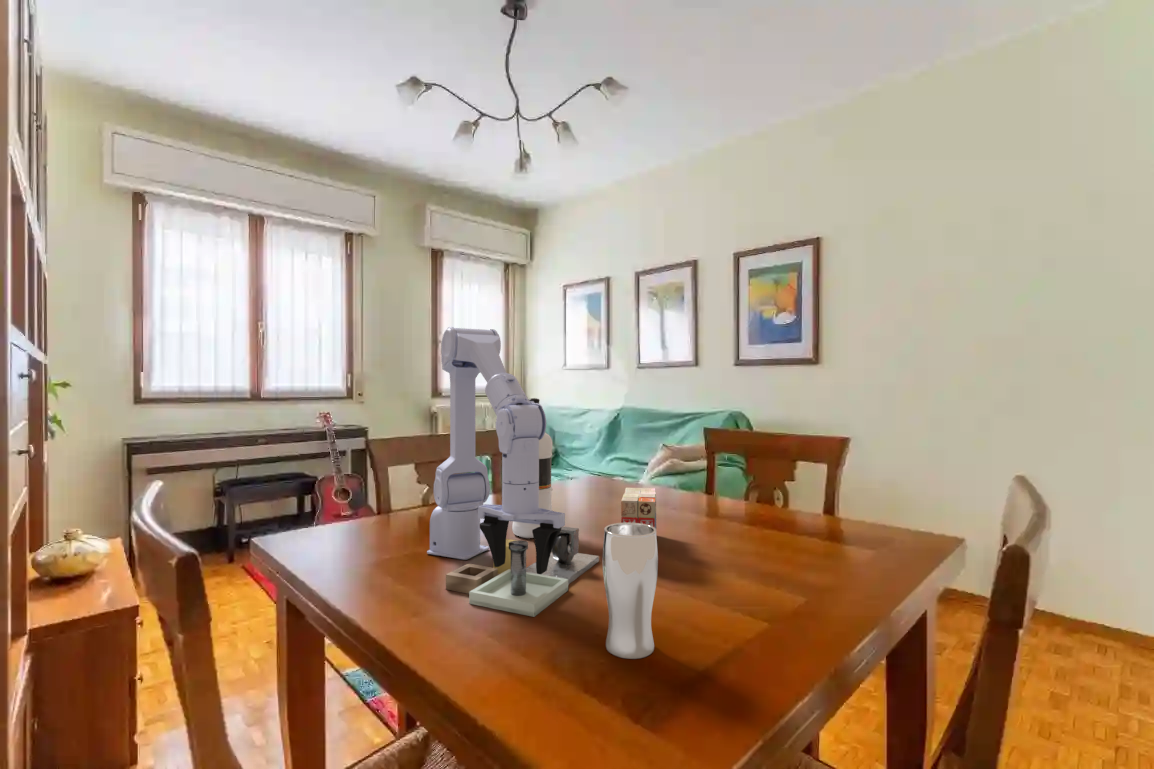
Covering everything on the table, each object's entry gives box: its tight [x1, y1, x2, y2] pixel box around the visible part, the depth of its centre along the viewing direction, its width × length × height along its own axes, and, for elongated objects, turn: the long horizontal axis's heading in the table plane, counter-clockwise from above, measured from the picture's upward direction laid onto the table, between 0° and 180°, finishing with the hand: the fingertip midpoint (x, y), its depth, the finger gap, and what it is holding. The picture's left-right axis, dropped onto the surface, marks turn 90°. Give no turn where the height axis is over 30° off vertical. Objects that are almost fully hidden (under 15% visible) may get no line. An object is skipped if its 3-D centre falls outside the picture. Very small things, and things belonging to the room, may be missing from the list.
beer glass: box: [602, 522, 659, 660], centre depth 70 cm, size 7×7×15 cm
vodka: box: [511, 397, 553, 539], centre depth 123 cm, size 9×9×30 cm
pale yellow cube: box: [492, 538, 517, 575], centre depth 98 cm, size 4×4×5 cm
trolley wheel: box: [526, 526, 600, 585], centre depth 99 cm, size 9×15×7 cm, turn 155°
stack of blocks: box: [620, 487, 657, 530], centre depth 111 cm, size 21×6×12 cm, turn 171°
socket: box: [445, 563, 499, 595], centre depth 91 cm, size 6×6×2 cm
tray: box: [468, 569, 569, 618], centre depth 86 cm, size 11×11×2 cm
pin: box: [509, 539, 529, 596], centre depth 86 cm, size 3×3×8 cm
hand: (520, 568), depth 86 cm, fingers open, 7 cm apart
